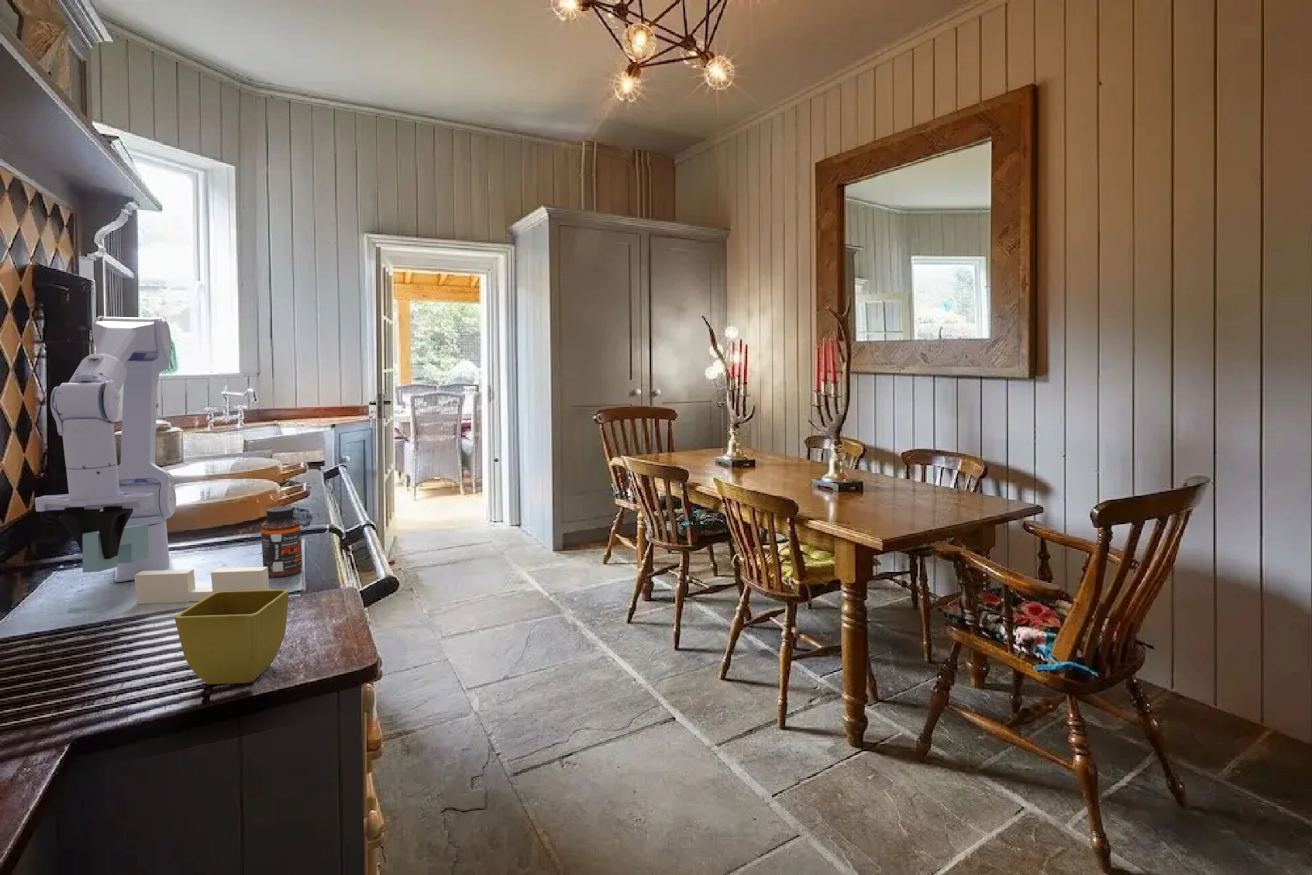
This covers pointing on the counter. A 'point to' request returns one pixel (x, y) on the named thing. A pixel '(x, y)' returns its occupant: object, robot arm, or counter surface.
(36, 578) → the counter surface
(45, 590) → the counter surface
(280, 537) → the supplement bottle
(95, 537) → the teal notched block
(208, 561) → the counter surface
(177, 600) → the cream rail
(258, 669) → the flower pot
